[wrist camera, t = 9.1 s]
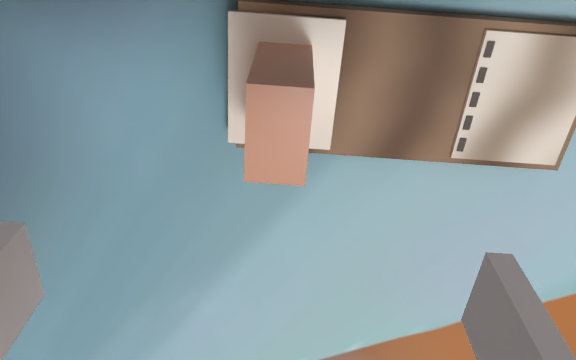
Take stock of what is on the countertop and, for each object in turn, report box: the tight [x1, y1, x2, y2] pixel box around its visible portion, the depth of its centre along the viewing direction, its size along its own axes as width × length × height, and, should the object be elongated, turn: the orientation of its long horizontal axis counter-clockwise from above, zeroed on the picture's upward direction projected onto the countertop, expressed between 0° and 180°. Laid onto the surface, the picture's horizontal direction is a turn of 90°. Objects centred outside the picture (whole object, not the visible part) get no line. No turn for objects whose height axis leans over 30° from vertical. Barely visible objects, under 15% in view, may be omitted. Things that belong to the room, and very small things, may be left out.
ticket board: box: [236, 0, 576, 170], centre depth 28 cm, size 21×9×2 cm, turn 86°
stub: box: [228, 11, 346, 186], centre depth 25 cm, size 6×8×7 cm
